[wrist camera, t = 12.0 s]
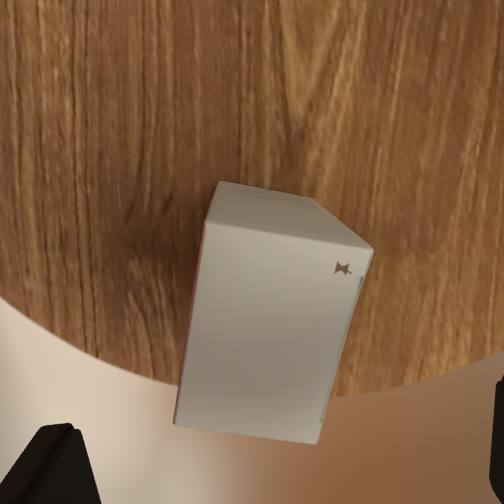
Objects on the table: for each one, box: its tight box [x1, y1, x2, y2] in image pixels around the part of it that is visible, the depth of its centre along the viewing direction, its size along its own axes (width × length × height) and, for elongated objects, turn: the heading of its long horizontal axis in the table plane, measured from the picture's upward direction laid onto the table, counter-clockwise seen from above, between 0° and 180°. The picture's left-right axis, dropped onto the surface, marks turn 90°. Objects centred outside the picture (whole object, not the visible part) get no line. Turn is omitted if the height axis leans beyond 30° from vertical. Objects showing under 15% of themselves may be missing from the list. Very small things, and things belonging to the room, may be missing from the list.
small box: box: [173, 181, 374, 444], centre depth 18 cm, size 8×6×10 cm
